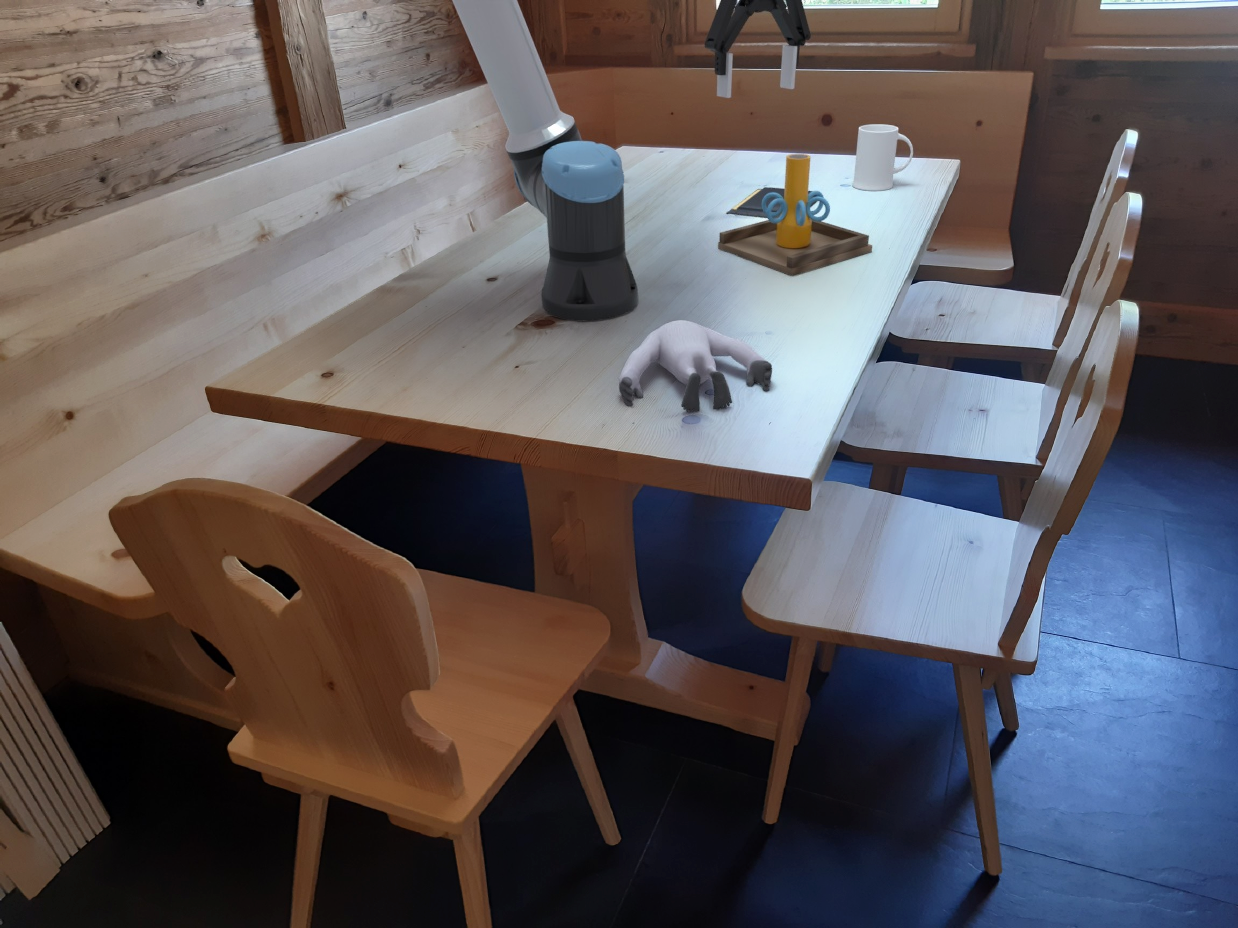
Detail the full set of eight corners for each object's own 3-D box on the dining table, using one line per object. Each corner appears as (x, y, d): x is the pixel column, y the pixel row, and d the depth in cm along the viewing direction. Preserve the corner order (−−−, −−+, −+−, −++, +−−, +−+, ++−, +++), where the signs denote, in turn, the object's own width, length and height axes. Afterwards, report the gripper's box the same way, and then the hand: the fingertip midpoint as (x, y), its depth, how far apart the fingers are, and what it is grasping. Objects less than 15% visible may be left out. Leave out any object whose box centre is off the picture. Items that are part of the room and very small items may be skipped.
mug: (909, 182, 198) (916, 124, 192) (908, 192, 191) (915, 133, 185) (853, 180, 201) (858, 123, 195) (850, 190, 194) (856, 132, 188)
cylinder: (749, 249, 159) (752, 161, 152) (770, 232, 167) (774, 147, 160) (817, 257, 154) (824, 166, 147) (835, 239, 162) (842, 152, 154)
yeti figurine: (778, 423, 112) (752, 354, 129) (786, 374, 109) (759, 309, 125) (619, 418, 111) (614, 349, 128) (622, 368, 107) (617, 304, 124)
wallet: (795, 215, 176) (722, 207, 182) (795, 225, 177) (722, 216, 183) (827, 189, 191) (759, 183, 197) (826, 198, 192) (758, 192, 198)
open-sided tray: (792, 276, 150) (793, 258, 149) (718, 248, 164) (718, 232, 162) (871, 251, 159) (873, 235, 158) (794, 227, 173) (795, 212, 171)
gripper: (715, -53, 130) (710, 103, 141) (841, -58, 142) (827, 87, 153) (684, -54, 136) (681, 97, 147) (807, -58, 147) (796, 82, 158)
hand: (756, 92), depth 150 cm, fingers open, 13 cm apart
